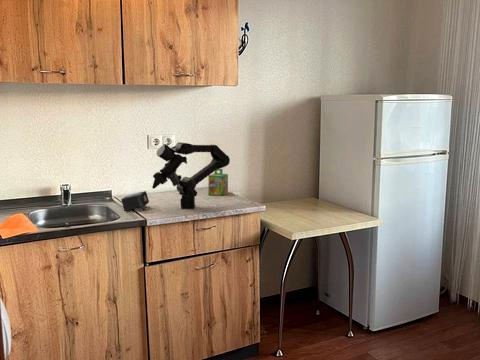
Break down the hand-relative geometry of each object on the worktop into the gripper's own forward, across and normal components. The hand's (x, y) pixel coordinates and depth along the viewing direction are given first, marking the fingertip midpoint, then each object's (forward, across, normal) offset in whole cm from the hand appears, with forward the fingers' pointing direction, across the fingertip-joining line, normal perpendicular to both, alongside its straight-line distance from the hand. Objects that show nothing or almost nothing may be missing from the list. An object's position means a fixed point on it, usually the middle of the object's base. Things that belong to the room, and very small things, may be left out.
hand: (153, 188), depth 232 cm
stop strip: (+13, +1, -2) cm, 13 cm away
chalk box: (-10, +39, -28) cm, 49 cm away
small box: (+7, +1, 0) cm, 7 cm away
